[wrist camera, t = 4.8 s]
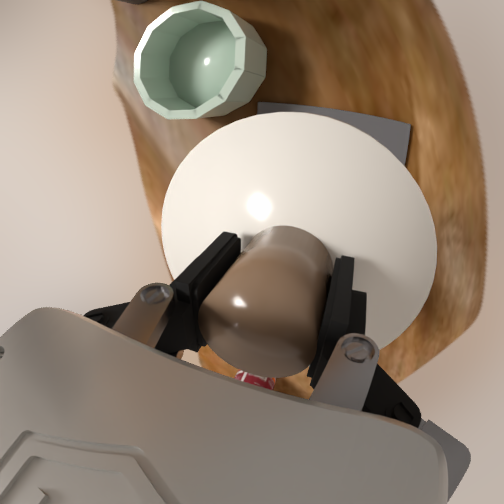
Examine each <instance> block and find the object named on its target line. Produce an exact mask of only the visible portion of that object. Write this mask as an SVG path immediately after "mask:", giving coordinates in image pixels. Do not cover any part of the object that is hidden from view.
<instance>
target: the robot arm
mask: <svg viewBox="0 0 504 504" xmlns="http://www.w3.org/2000/svg"><path fill="white" fill-rule="evenodd" d="M240 253H241V238H239V237H238V236H237V234H236V233H230V232H225V231H224V232H222V233H221V234H220V235H219V236H218V237H217V238H216V239H215V240H214V241H213V242H212V243H211V244H210V245H209V246H208V247H207V248H206V249H205V250H204V251H203V252H202V253H201V254H200V255H199V256H198V257H197V258H196V259H195V260H194V261H193V262H192V263H191V264H190V265H189V266H188V267H187V268H186V269H185V270H184V271H183V272H182V273H181V274H180V275H179V276H178V277H177V278H176V279H175V280H174V281H173V282H172V283H171V284H170V285H167V284H163V283H152V284H148V285H146V286H144V287H142V288H141V289H140V290H139V291H138V292H137V293H136V295H135V296H134V298H133V299H132V300H131V302H127V303H123V304H119V305H113V306H108V307H104V308H99V309H94V310H91V311H89V312H87V313H86V314H85V315H84V316H82V315H80V314H77V313H74V312H71V311H69V310H64V309H60V308H52V307H43V308H38V309H35V310H33V311H31V312H30V313H28V314H27V315H25V316H24V317H23V318H22V319H20V320H19V321H18V322H16V323H15V324H14V325H13V326H12V327H11V328H10V329H8V330H7V331H6V332H5V333H4V334H3V335H2V336H1V337H0V504H447V502H448V501H449V499H450V498H451V496H452V495H453V493H454V491H455V490H456V488H457V486H458V485H459V483H460V481H461V480H462V478H463V476H464V474H465V473H466V471H467V469H468V467H469V464H470V461H471V455H470V452H469V450H468V448H467V447H466V446H465V445H464V444H462V443H461V442H460V441H458V440H457V439H455V438H454V437H453V436H451V435H450V434H448V433H447V432H445V431H444V430H443V429H441V428H440V427H438V426H437V425H436V424H434V423H433V422H432V421H430V420H428V421H427V422H426V421H424V420H423V419H422V418H421V413H420V410H419V408H418V407H417V405H416V404H415V403H414V402H413V400H412V399H410V397H409V396H408V395H407V394H406V393H405V392H404V391H403V390H402V389H401V388H400V387H399V386H398V385H397V384H396V383H395V382H394V381H393V379H392V378H391V377H390V376H389V375H388V374H387V373H386V372H385V371H384V370H383V369H382V368H381V367H380V366H379V365H378V364H377V362H378V358H379V349H378V346H377V345H376V343H375V342H374V341H373V340H372V339H371V338H369V337H367V336H365V330H366V308H367V293H366V292H362V291H357V290H352V286H353V274H354V259H355V258H354V257H349V256H344V255H342V256H341V258H337V257H336V259H335V264H334V268H333V273H332V277H331V282H330V287H329V292H328V297H327V302H326V306H325V311H324V315H323V320H322V324H321V328H320V332H319V336H318V340H317V350H316V355H315V357H314V360H313V361H312V362H311V364H310V366H309V370H308V373H307V377H311V378H312V379H311V383H310V386H312V388H313V389H314V391H313V393H312V395H311V396H310V398H309V400H308V399H304V398H300V397H296V396H292V395H288V394H284V393H280V392H277V391H273V390H270V389H266V388H263V387H259V386H256V385H253V384H249V383H246V382H243V381H240V380H237V379H234V378H231V377H228V376H225V375H222V374H219V373H216V372H213V371H210V370H207V369H205V368H202V367H199V366H196V365H194V364H191V363H189V362H186V361H183V360H181V358H182V356H183V352H184V350H185V349H189V350H192V351H195V352H198V351H199V349H200V348H201V346H206V345H207V343H206V341H205V339H204V338H203V336H202V334H201V331H200V328H199V324H198V313H199V309H200V306H201V304H202V303H203V301H204V300H205V299H206V297H207V296H208V295H209V293H210V292H211V291H212V289H213V288H214V287H215V286H216V284H217V283H218V282H219V280H220V279H221V278H222V277H223V275H224V274H225V273H226V271H227V270H228V269H229V268H230V266H231V265H232V264H233V262H234V261H235V260H236V259H237V257H238V256H239V255H240Z"/></svg>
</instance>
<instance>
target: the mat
mask: <svg viewBox="0 0 504 504" xmlns="http://www.w3.org/2000/svg"><path fill="white" fill-rule="evenodd" d="M276 112H307V113H313V114H318V115H323V116H328V117H331V118H334V119H337V120H340V121H343V122H345V123H348V124H351V125H352V126H354V127H356V128H358V129H360V130H362V131H364V132H366V133H367V134H369V135H371V136H372V137H373V138H375V139H376V140H377V141H379V142H380V143H381V144H383V145H384V146H385V147H386V148H388V149H389V150H390V151H391V152H392V153H393V154H394V155H395V156H396V158H397V159H398V160H399V161H400V162H401V163H402V164H403V165H404V166H405V161H406V155H407V148H408V142H409V135H410V127H411V124H407V123H403V122H399V121H395V120H390V119H386V118H381V117H376V116H371V115H366V114H361V113H355V112H349V111H343V110H337V109H330V108H322V107H314V106H305V105H295V104H284V103H269V102H258V111H257V115H260V114H268V113H276Z"/></svg>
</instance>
